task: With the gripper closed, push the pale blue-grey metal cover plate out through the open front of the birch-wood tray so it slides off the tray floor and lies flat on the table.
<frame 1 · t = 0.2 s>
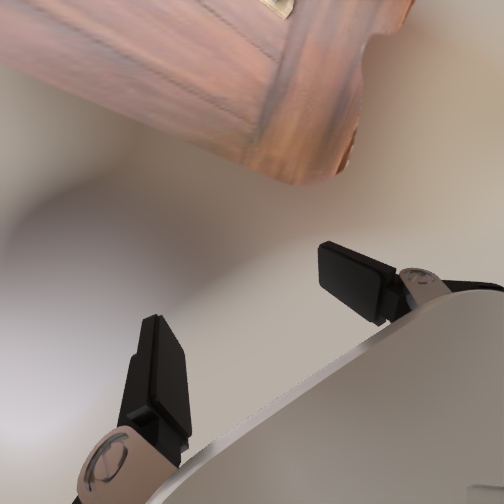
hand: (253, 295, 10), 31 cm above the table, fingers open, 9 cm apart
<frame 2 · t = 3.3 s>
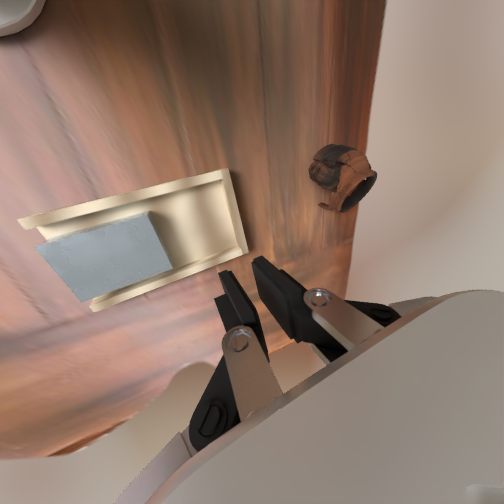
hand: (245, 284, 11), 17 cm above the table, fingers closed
tray: (150, 238, 24), on the table
pottery mug: (321, 177, 31), on the table
cover plate: (119, 249, 22), point 1 cm above the table, touching tray
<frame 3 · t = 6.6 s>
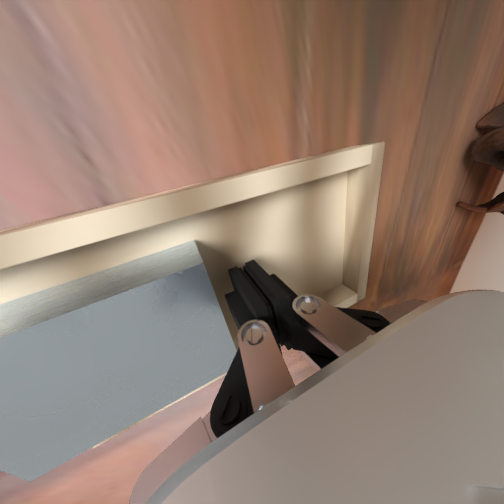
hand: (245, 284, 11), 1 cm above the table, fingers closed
tray: (208, 283, 12), on the table
pottery mug: (470, 159, 19), on the table
cover plate: (127, 325, 10), point 1 cm above the table, touching gripper, tray
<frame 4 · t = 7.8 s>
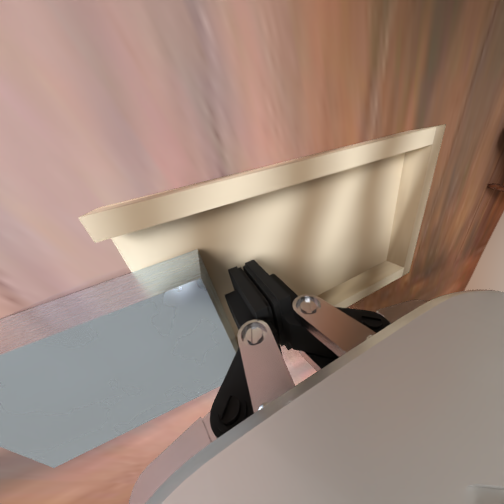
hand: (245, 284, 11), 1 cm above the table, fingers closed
tray: (283, 253, 13), on the table
pottery mug: (503, 143, 21), on the table
cover plate: (136, 330, 11), on the table, tilted 5°, touching tray
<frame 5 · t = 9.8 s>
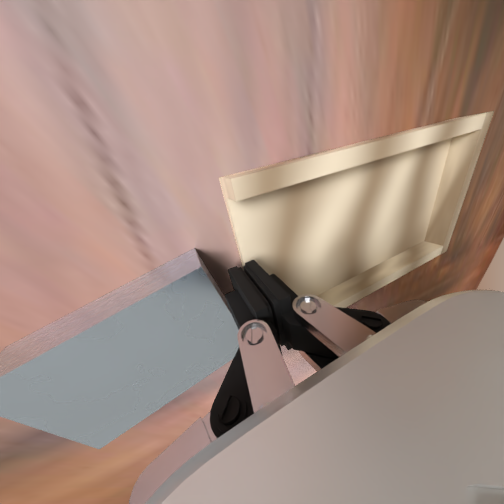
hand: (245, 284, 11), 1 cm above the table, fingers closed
tray: (343, 228, 15), on the table
cover plate: (150, 325, 12), on the table, touching gripper
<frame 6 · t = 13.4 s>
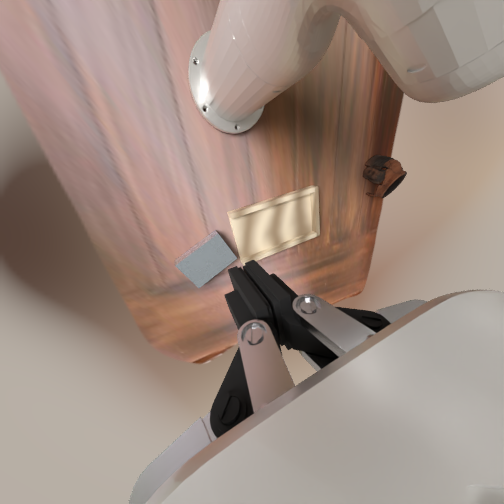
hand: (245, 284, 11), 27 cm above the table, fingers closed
tray: (270, 225, 42), on the table
pottery mug: (368, 175, 49), on the table
cover plate: (205, 256, 39), on the table
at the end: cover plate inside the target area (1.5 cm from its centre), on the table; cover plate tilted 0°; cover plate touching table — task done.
